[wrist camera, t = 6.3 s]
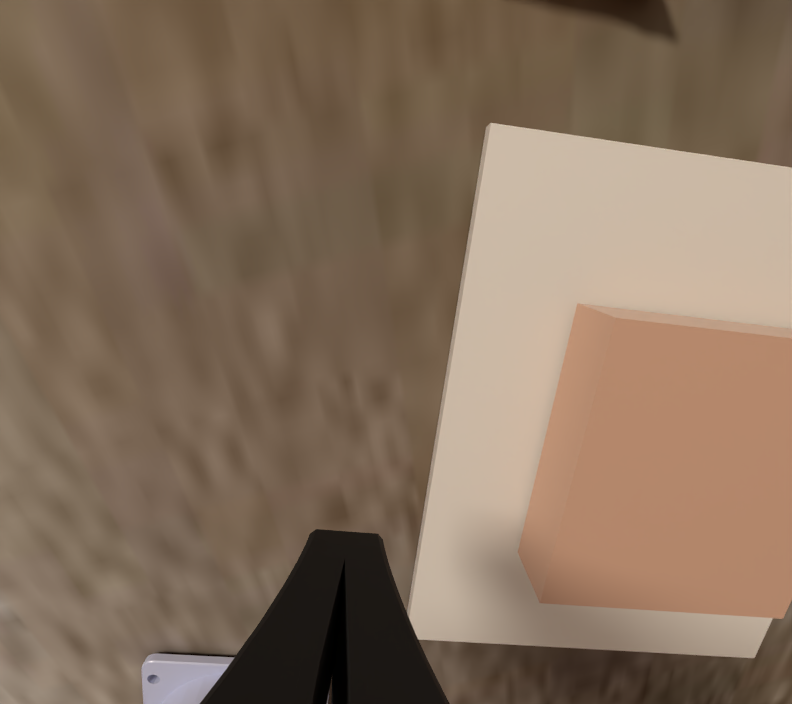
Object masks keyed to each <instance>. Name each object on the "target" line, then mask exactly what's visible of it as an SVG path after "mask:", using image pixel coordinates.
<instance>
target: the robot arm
mask: <svg viewBox="0 0 792 704" xmlns="http://www.w3.org/2000/svg"><path fill="white" fill-rule="evenodd" d="M331 678H332V704H449V702H448V700H447V698H446V696H445V694H444V692H443V690H442V688H441V686H440V684H439V682H438V680H437V678H436V676H435V674H434V672H433V670H432V668H431V666H430V664H429V662H428V660H427V658H426V656H425V654H424V651H423V649H422V647H421V645H420V643H419V640H418V638H417V636H416V634H415V631H414V629H413V626H412V624H411V622H410V619H409V617H408V615H407V612H406V610H405V608H404V605H403V603H402V600H401V597H400V595H399V592H398V589H397V587H396V584H395V581H394V578H393V575H392V572H391V569H390V566H389V563H388V559H387V556H386V552H385V548H384V544H383V539H382V538H381V537H380V536H379V534H372V533H359V532H345V531H332V530H318V529H316V530H315V531H313V532H312V533H311V534H310V535H309V538H308V540H307V543H306V545H305V547H304V549H303V551H302V553H301V555H300V557H299V559H298V561H297V563H296V565H295V566H294V568H293V570H292V572H291V573H290V575H289V577H288V579H287V580H286V582H285V584H284V585H283V587H282V589H281V590H280V592H279V593H278V595H277V596H276V598H275V599H274V601H273V603H272V604H271V606H270V607H269V609H268V610H267V612H266V614H265V615H264V617H263V618H262V620H261V621H260V623H259V624H258V626H257V627H256V629H255V630H254V631H253V633H252V634H251V635H250V637H249V638H248V640H247V641H246V642H245V644H244V645H243V647H242V648H241V649H240V651H239V652H238V654H237V655H236V656H235V657H218V656H198V655H179V654H159V653H156V654H151V655H149V656H148V657H147V658H146V659H145V661H144V663H143V665H142V687H143V704H328V698H329V689H330V683H331Z"/></svg>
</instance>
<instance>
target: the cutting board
mask: <svg viewBox="0 0 792 704" xmlns="http://www.w3.org/2000/svg"><path fill="white" fill-rule="evenodd" d="M577 303H580V304H588V305H597V306H605V307H614V308H622V309H630V310H639V311H647V312H656V313H664V314H673V315H681V316H689V317H698V318H706V319H715V320H723V321H732V322H740V323H749V324H757V325H765V326H774V327H782V328H791V329H792V168H790V167H784V166H777V165H770V164H763V163H757V162H750V161H743V160H737V159H730V158H723V157H716V156H710V155H703V154H696V153H689V152H683V151H676V150H669V149H663V148H656V147H649V146H642V145H636V144H629V143H622V142H616V141H609V140H602V139H595V138H589V137H582V136H575V135H568V134H562V133H555V132H548V131H542V130H535V129H528V128H521V127H515V126H508V125H501V124H495V123H490V124H489V125H488V126H487V127H486V131H485V137H484V144H483V150H482V156H481V162H480V168H479V174H478V180H477V187H476V193H475V199H474V205H473V211H472V217H471V223H470V229H469V236H468V242H467V248H466V254H465V260H464V266H463V272H462V279H461V285H460V291H459V297H458V303H457V309H456V315H455V322H454V328H453V334H452V340H451V346H450V352H449V358H448V364H447V371H446V377H445V383H444V389H443V395H442V401H441V407H440V414H439V420H438V426H437V432H436V438H435V444H434V450H433V456H432V463H431V469H430V475H429V481H428V487H427V493H426V499H425V506H424V512H423V518H422V524H421V530H420V536H419V542H418V549H417V555H416V561H415V567H414V573H413V579H412V585H411V591H410V598H409V604H408V610H407V615H408V617H409V619H410V622H411V624H412V626H413V629H414V631H415V634H416V636H417V638H418V639H420V640H438V641H456V642H474V643H492V644H510V645H527V646H545V647H563V648H581V649H599V650H617V651H634V652H652V653H670V654H688V655H706V656H724V657H741V658H755V656H756V654H757V651H758V649H759V647H760V645H761V643H762V640H763V638H764V636H765V634H766V632H767V630H768V627H769V625H770V623H771V621H772V619H773V618H764V617H748V616H733V615H717V614H701V613H686V612H670V611H654V610H639V609H623V608H607V607H592V606H576V605H560V604H545V603H539V600H538V598H537V596H536V594H535V591H534V589H533V587H532V584H531V582H530V580H529V577H528V575H527V573H526V570H525V568H524V566H523V564H522V561H521V559H520V557H519V554H518V548H519V544H520V540H521V536H522V532H523V527H524V523H525V519H526V515H527V511H528V507H529V502H530V498H531V494H532V490H533V486H534V482H535V477H536V473H537V469H538V465H539V461H540V457H541V452H542V448H543V444H544V440H545V436H546V432H547V427H548V423H549V419H550V415H551V411H552V407H553V402H554V398H555V394H556V390H557V386H558V382H559V377H560V373H561V369H562V365H563V361H564V357H565V352H566V348H567V344H568V340H569V336H570V332H571V327H572V323H573V319H574V315H575V311H576V307H577Z"/></svg>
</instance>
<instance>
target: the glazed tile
mask: <svg viewBox="0 0 792 704" xmlns="http://www.w3.org/2000/svg"><path fill="white" fill-rule="evenodd" d="M518 554H519V557H520V559H521V561H522V564H523V566H524V568H525V570H526V573H527V575H528V577H529V580H530V582H531V584H532V587H533V589H534V591H535V594H536V596H537V598H538V600H539V603H545V604H560V605H576V606H592V607H607V608H623V609H639V610H654V611H670V612H686V613H701V614H717V615H733V616H748V617H764V618H780V619H783V617H784V615H785V613H786V611H787V609H788V607H789V605H790V602H791V600H792V329H791V328H782V327H774V326H765V325H757V324H749V323H740V322H732V321H723V320H715V319H706V318H698V317H689V316H681V315H673V314H664V313H656V312H647V311H639V310H630V309H622V308H614V307H605V306H597V305H588V304H580V303H577V307H576V311H575V315H574V319H573V323H572V327H571V332H570V336H569V340H568V344H567V348H566V352H565V357H564V361H563V365H562V369H561V373H560V377H559V382H558V386H557V390H556V394H555V398H554V402H553V407H552V411H551V415H550V419H549V423H548V427H547V432H546V436H545V440H544V444H543V448H542V452H541V457H540V461H539V465H538V469H537V473H536V477H535V482H534V486H533V490H532V494H531V498H530V502H529V507H528V511H527V515H526V519H525V523H524V527H523V532H522V536H521V540H520V544H519V548H518Z"/></svg>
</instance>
